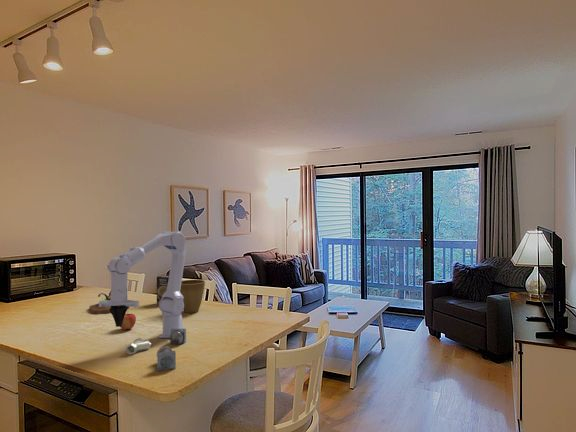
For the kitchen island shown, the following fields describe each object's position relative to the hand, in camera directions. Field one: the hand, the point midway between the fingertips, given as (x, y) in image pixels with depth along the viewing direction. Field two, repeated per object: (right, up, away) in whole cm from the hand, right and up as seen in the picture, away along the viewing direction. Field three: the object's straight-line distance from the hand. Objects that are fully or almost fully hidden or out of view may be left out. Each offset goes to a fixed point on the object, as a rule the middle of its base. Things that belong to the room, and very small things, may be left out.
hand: (119, 326), depth 140 cm
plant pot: (+11, -10, +60) cm, 62 cm away
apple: (-9, -10, +28) cm, 31 cm away
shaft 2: (+19, -9, +9) cm, 23 cm away
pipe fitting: (+7, -10, 0) cm, 12 cm away
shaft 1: (+22, -9, -14) cm, 28 cm away
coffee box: (-8, -10, +79) cm, 80 cm away
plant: (-35, -11, +66) cm, 75 cm away
